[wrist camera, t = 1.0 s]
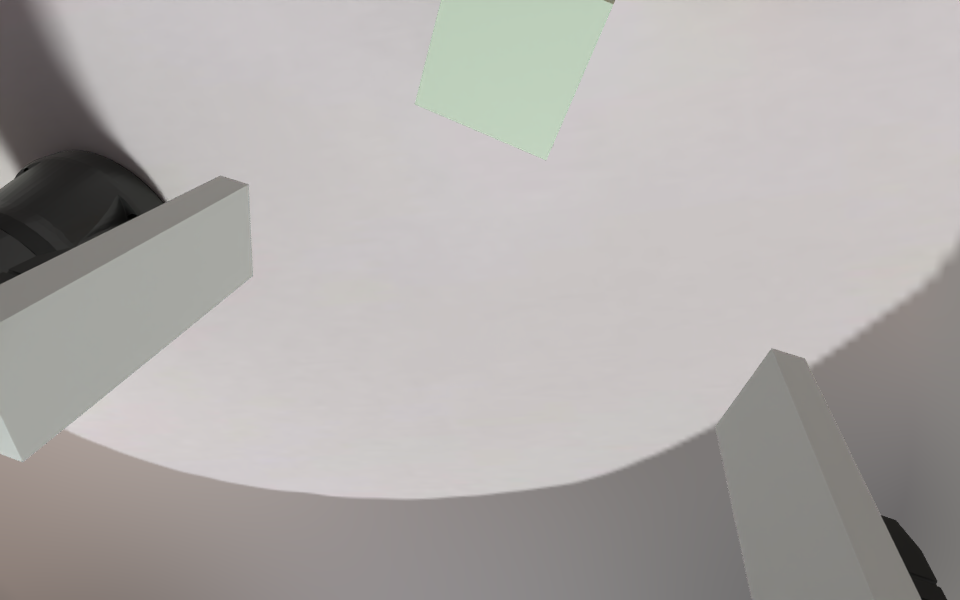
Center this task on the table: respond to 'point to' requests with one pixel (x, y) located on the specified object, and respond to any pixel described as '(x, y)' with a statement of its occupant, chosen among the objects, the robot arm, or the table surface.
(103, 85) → the table surface
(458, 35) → the sage block
